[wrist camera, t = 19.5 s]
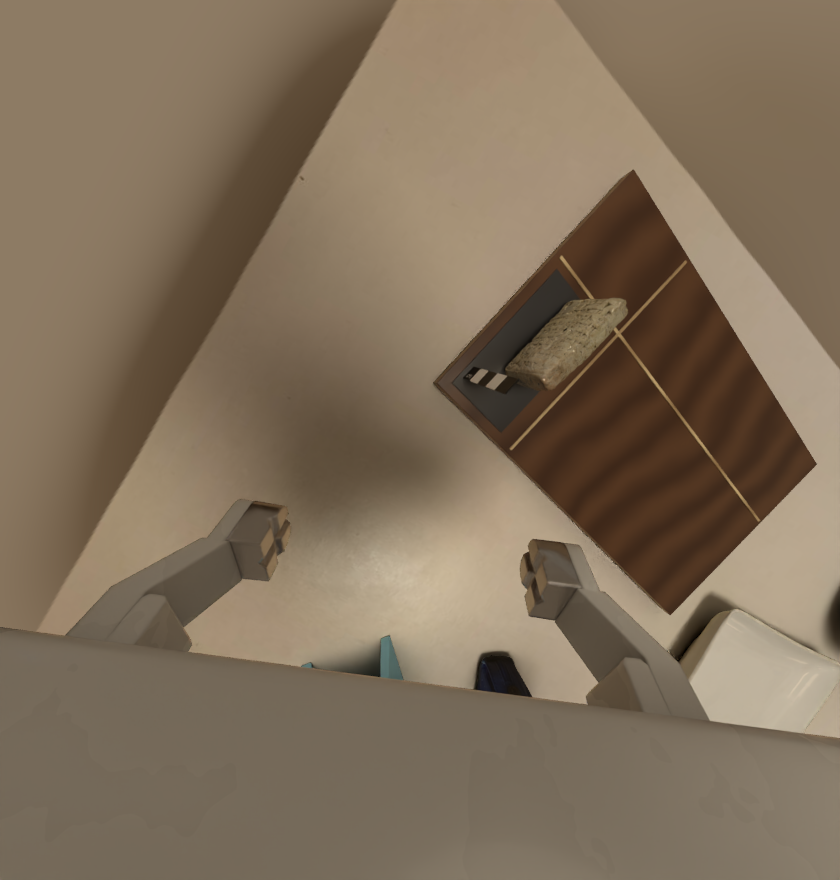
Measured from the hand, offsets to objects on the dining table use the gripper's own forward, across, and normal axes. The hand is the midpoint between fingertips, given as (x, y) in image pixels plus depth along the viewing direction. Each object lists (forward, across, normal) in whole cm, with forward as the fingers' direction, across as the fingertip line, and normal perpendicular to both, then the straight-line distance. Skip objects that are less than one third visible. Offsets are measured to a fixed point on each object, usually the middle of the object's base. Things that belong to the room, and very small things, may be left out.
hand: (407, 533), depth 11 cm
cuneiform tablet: (+23, -9, 0) cm, 25 cm away
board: (+25, -25, +7) cm, 36 cm away
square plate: (+14, -48, +44) cm, 66 cm away
